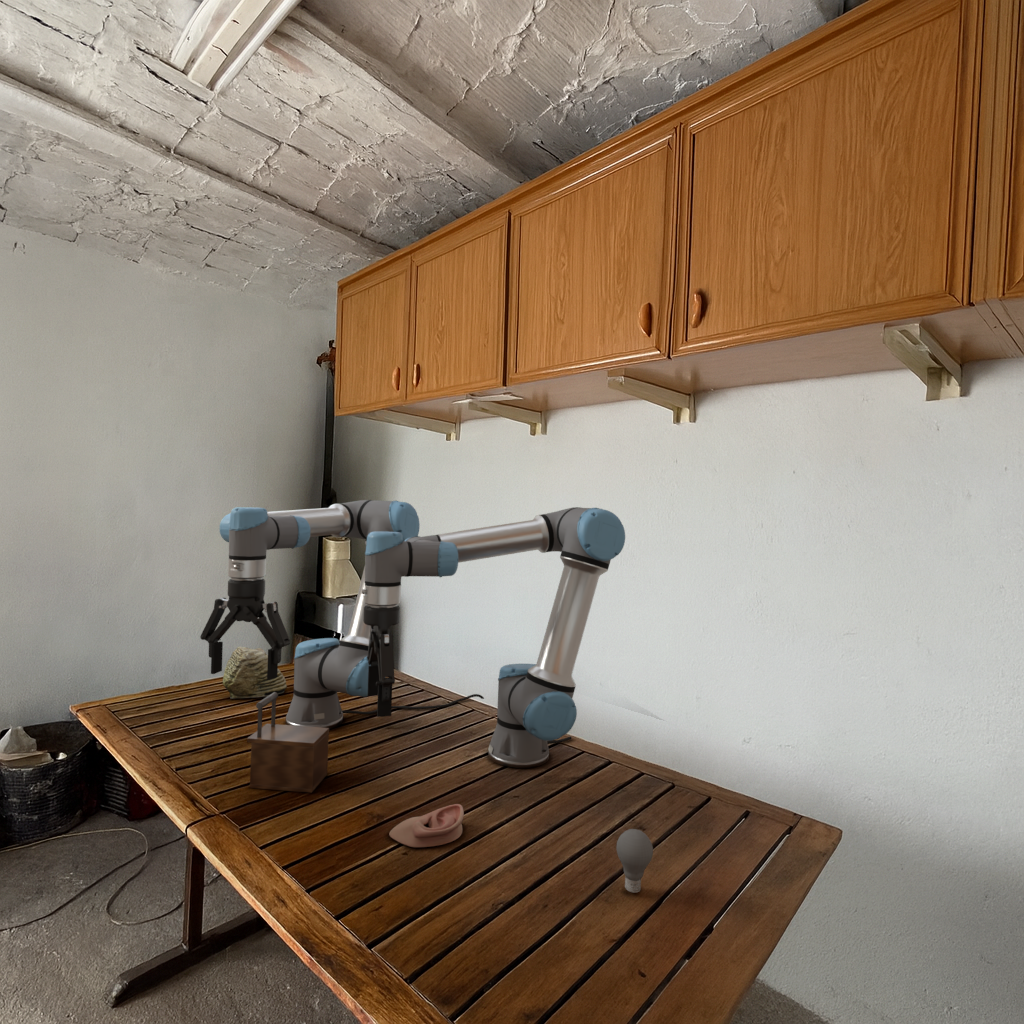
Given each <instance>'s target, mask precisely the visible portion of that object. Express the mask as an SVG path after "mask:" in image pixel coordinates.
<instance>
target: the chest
mask: <svg viewBox="0 0 1024 1024" xmlns="http://www.w3.org/2000/svg"><path fill="white" fill-rule="evenodd" d="M329 738H330V731H329V732H328V733H327V734H326V735H325V736H324V737H323V738H322V739H321V740H320V741H319V742H318V743H317V744H316V745H315V746H314V747H303V746H290V745H276V744H262V743H251V744H250V745H251V746H250V748H251V749H250V770H249V771H250V773H249V774H250V775H249V789H257V790H271V791H272V790H273V791H283V792H284V791H285V792H297V793H310V794H311V793H313V792H314V791H315V790H316V789H317V787H319V785H320V784H321V783H322V782H323V780H324V779H325V778H326V776H327V775H328V768H329V767H328V765H329V764H328V763H329V740H330V739H329Z"/></svg>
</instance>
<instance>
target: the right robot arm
mask: <svg viewBox="0 0 1024 1024" xmlns="http://www.w3.org/2000/svg"><path fill="white" fill-rule="evenodd" d="M625 543H626V530H625V527H624V525H623V523H622V521H621V519H620V518H619V517H618V516H617V514H615V513H614V512H612V511H610V510H609V509H608V510H607V509H603V508H599V507H581V506H580V507H578V506H575V507H568V508H564V509H561V510H557V511H552V512H548V513H543V514H537V515H535V516H534V517H533V519H530V520H524V521H517V522H509V523H504V524H498V525H489V526H483V527H478V528H470V529H464V530H463V529H462V530H458V531H450V532H444V533H438V534H431V535H424V536H419V535H418V536H414V537H410V538H407V539H406V540H405V541H403V536H402V534H401V533H400V532H387V531H375V532H371V533H369V534H368V536H367V543H366V544H365V552H364V555H365V556H364V567H365V589H363V590H362V594H365V595H364V602H365V604H367V605H366V606H365V607H364V617H363V622H364V623H365V624H366V625H370V626H371V629H370V639H369V647H368V656H367V659H368V663H369V665H371V666H369V667H368V696H367V697H376V696H377V704H376V706H377V708H376V710H377V713H376V717H377V718H383V717H392V709H391V707H392V706H393V705H392V704H393V703H392V701H393V685H394V684H395V683H396V678H395V663H394V661H395V660H394V634H393V633H391V631H390V627H392V626H396V625H399V623H400V622H401V607H400V605H399V604H401V601H402V577H406V578H409V577H431V578H432V577H435V578H436V577H439V578H443V577H452V576H454V575H455V574H456V573H457V571H458V567H459V563H466V562H471V561H472V562H473V561H478V560H483V559H489V558H490V559H491V558H496V557H501V556H502V557H503V556H508V555H514V554H520V553H521V554H522V553H526V552H533V551H539V552H540V553H542V554H545V553H550V552H559V553H560V552H561V553H560V556H559V558H560V560H561V562H562V564H563V569H562V571H561V575H560V579H559V582H558V585H557V586H558V587H557V590H556V593H555V596H554V597H555V598H554V599H553V600H554V601H553V603H552V608H551V611H550V613H549V614H550V615H549V619H548V622H547V626H546V628H545V633H544V636H543V638H542V639H543V640H542V643H541V646H540V650H539V654H538V658H537V660H536V663H511V664H505V665H503V666H501V667H500V669H499V671H498V673H499V674H498V678H497V681H498V684H497V685H498V687H497V709H496V710H497V712H496V716H497V717H496V726H495V728H494V731H493V734H492V736H491V740H490V742H489V744H488V748H487V750H488V752H487V753H488V755H487V756H488V758H489V759H490V760H491V761H492V762H494V763H496V764H497V765H500V766H503V767H507V768H514V769H529V768H537V767H539V766H542V765H544V764H546V763H547V762H548V761H549V759H550V749H549V745H550V744H551V745H552V744H561V743H564V742H567V741H570V740H572V736H566V737H563V736H565V735H567V734H568V733H569V732H570V731H571V730H572V728H573V727H574V725H575V723H576V721H577V715H578V712H577V711H578V709H577V705H576V703H575V700H574V699H573V698H574V693H575V690H576V686H577V683H576V681H575V679H574V677H573V673H574V668H575V665H576V661H577V658H578V655H579V650H580V647H581V643H582V640H583V636H584V633H585V628H586V627H587V626H586V625H587V622H588V618H589V615H590V611H591V608H592V605H593V600H594V597H595V594H596V590H597V586H598V582H599V579H600V576H602V575H604V574H605V573H607V572H608V571H609V568H610V565H611V561H612V560H613V559H614V558H616V557H617V556H619V555H620V553H621V552H622V551H623V549H624V546H625ZM562 737H563V738H562ZM560 738H561V739H560Z"/></svg>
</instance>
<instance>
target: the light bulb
mask: <svg viewBox="0 0 1024 1024" xmlns="http://www.w3.org/2000/svg"><path fill="white" fill-rule="evenodd" d="M615 849H616V854H617V857H618V859H619V861H620V863H621V865H622V867H623V873H624V874H623V875H624V876H625V878H624V888H625V890H627V891H628V892H630V893H634V894H635V893H639V892H640V891H641V889H642V887H641V886H642V879H643V877H644V875H645V871H646V868H647V867H648V866H649V864H650V863H651V861H652V859H653V855H654V847H653V843H652V841H651V838H649V836H648V835H647V834H646V833H645V832H643V831H642V830H641V829H636V828H629V829H627V830H625V831H623V832H622V833H621V834H620V835H619V837H618V839H617V841H616V847H615Z"/></svg>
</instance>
